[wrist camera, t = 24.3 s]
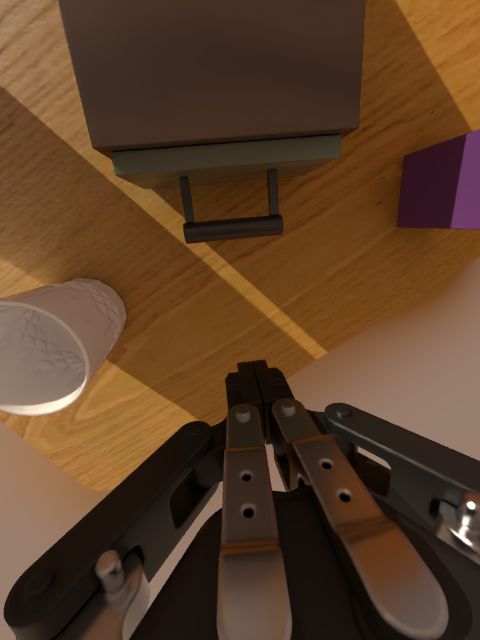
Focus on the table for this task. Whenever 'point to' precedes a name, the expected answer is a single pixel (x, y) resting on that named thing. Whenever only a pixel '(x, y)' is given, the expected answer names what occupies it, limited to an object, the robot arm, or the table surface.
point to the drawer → (227, 175)
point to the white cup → (55, 343)
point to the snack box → (442, 185)
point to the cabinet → (214, 69)
